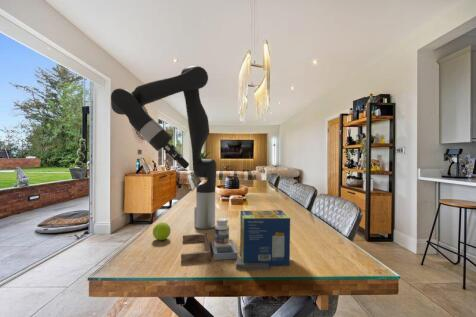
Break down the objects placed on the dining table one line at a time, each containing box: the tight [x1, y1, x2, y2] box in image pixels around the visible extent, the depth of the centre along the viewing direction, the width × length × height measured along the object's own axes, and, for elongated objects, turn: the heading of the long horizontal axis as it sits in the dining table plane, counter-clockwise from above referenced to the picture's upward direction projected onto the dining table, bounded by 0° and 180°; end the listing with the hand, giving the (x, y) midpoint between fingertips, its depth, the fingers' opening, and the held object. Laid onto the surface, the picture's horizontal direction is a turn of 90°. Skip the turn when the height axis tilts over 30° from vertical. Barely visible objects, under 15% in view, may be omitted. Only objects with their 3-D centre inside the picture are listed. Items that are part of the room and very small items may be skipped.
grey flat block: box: [235, 257, 270, 271], centre depth 74 cm, size 10×5×2 cm, turn 87°
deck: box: [210, 239, 239, 261], centre depth 84 cm, size 8×12×2 cm, turn 12°
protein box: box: [239, 209, 291, 267], centre depth 79 cm, size 10×15×16 cm
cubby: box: [180, 233, 212, 263], centre depth 86 cm, size 10×19×3 cm, turn 12°
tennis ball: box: [152, 222, 172, 241], centre depth 96 cm, size 7×7×7 cm
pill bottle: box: [214, 217, 230, 245], centre depth 87 cm, size 5×5×9 cm
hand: (187, 166), depth 88 cm, fingers open, 8 cm apart
